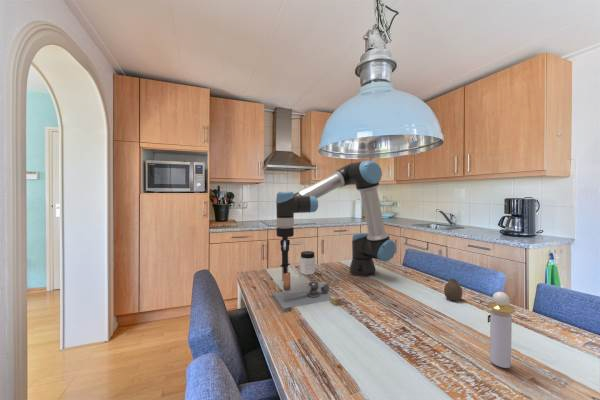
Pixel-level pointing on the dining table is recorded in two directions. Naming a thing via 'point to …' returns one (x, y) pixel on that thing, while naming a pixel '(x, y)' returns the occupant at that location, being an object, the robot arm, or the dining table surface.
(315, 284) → the lever
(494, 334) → the perfume bottle
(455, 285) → the brown egg shape
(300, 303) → the base
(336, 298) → the block
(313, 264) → the jar
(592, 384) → the dining table surface
